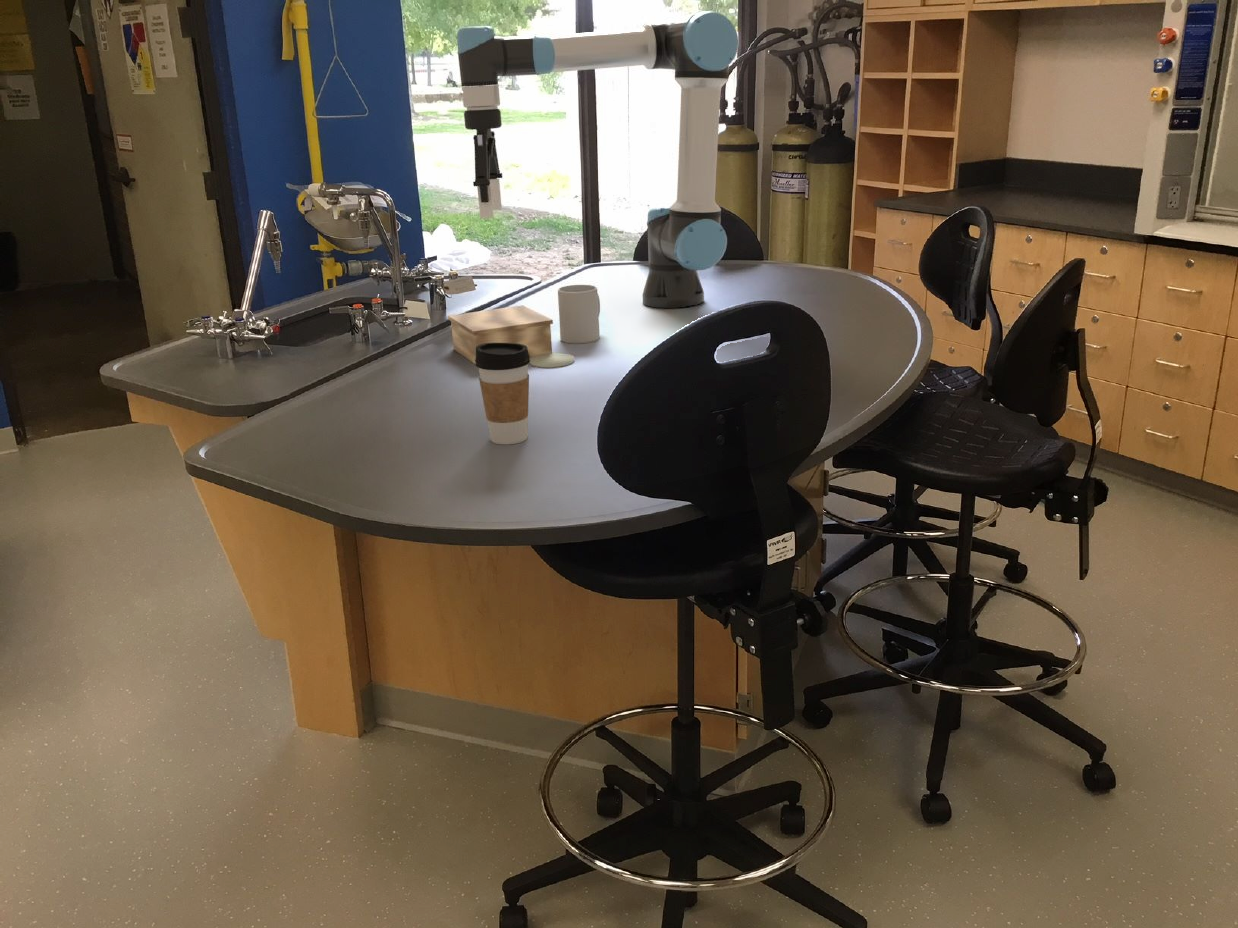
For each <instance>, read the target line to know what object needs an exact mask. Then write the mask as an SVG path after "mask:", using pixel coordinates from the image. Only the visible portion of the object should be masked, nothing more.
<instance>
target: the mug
mask: <svg viewBox="0 0 1238 928" xmlns="http://www.w3.org/2000/svg"><path fill="white" fill-rule="evenodd" d="M557 300H558V315H559V316H558V318H559V335H560V336H559V338H560V340H561V342H563V343H566V344H577V345H579V344H589V343H593V342H596V341H598V340H599V339H600V336H601V335H600V314H601V301H600V300H601V299H600V295H599V293H598V286H595V285H591V284H571V285H570V284H569V285H565V286H560V287H559V288H558V289H557Z"/></svg>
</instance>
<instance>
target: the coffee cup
mask: <svg viewBox="0 0 1238 928" xmlns="http://www.w3.org/2000/svg"><path fill="white" fill-rule="evenodd" d="M530 359H531V358H530V355H529V353H528V349H527V346H525V345H523V344H517V343H484V344H481V345H478V346H477V347H476V359H475V362H476V364H475V366H476V368H478V372H479V378H478V382H479V386H480V391H481V396H482V400H483V407H484V410H485V411H484V412H485V416H486V420H487V427H488V431H489V432H488V433H489V438H490V441H491V442H492V443H493V444H497V445H505V446H506V445H515V444H516V445H517V444H520V443H522V442H525V441H526V440H527V439H528V437H529V399H530V398H529V395H530V394H529V393H530V391H529V390H530V375H529V371H528V370H529V365H530Z"/></svg>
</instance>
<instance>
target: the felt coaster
mask: <svg viewBox="0 0 1238 928" xmlns="http://www.w3.org/2000/svg"><path fill="white" fill-rule="evenodd" d="M573 363H575V356H574V355H572V354H568V353H561V352H560V353H559V352H552V353H550V354H542V355H538V356H535V357H532V358H530V363H529V365H531V366H533V367H534V368H535V367H537V368H541V369H542V368H543V369H544V368H545V369H548V368H549V369H551V368H552V369H553V368H561V367H562V368H563V367H566V366H569V365H572V364H573Z"/></svg>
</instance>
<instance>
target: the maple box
mask: <svg viewBox="0 0 1238 928" xmlns="http://www.w3.org/2000/svg"><path fill="white" fill-rule="evenodd" d="M447 319H448V320H449V321H450V324H451V335H452V343H453V344H452V347H453V350H454V351H455V352H457V353H459V354H460V355H461V356H463V357H465V358H466V360H469V362H471V363H472V364H474V365H476V362H475V359H476V347H477V346H478V345H481V344H484V343H517V344H523V345H525V346H527V349H528V353H529V355H530V359H531V358H532V357H535V356H538V355H542V354H550V353H553V345H552V330H551V327H552V326H551V325H552V324H553V323H554V320H553V319H551V318H550V317H547V316H545V315H544V314H542V313H539V312H537V311H536V310H533V309H531V308H530V307H527V306H525V305H515V306H509V307H508V306H507V307H501V308H493V309H486V310H480V311H478V310H477V311H473V312H465V313H458V314H450V315H447Z"/></svg>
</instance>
